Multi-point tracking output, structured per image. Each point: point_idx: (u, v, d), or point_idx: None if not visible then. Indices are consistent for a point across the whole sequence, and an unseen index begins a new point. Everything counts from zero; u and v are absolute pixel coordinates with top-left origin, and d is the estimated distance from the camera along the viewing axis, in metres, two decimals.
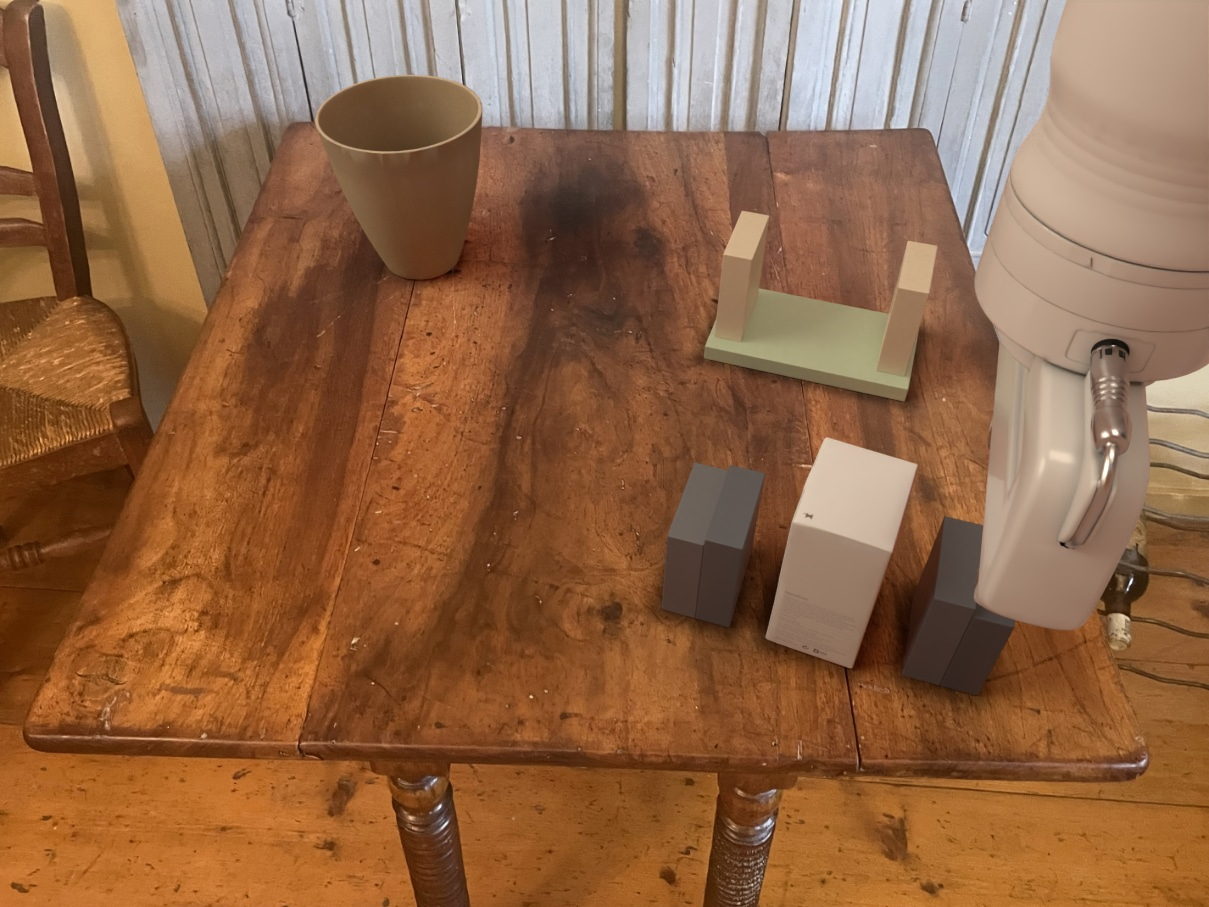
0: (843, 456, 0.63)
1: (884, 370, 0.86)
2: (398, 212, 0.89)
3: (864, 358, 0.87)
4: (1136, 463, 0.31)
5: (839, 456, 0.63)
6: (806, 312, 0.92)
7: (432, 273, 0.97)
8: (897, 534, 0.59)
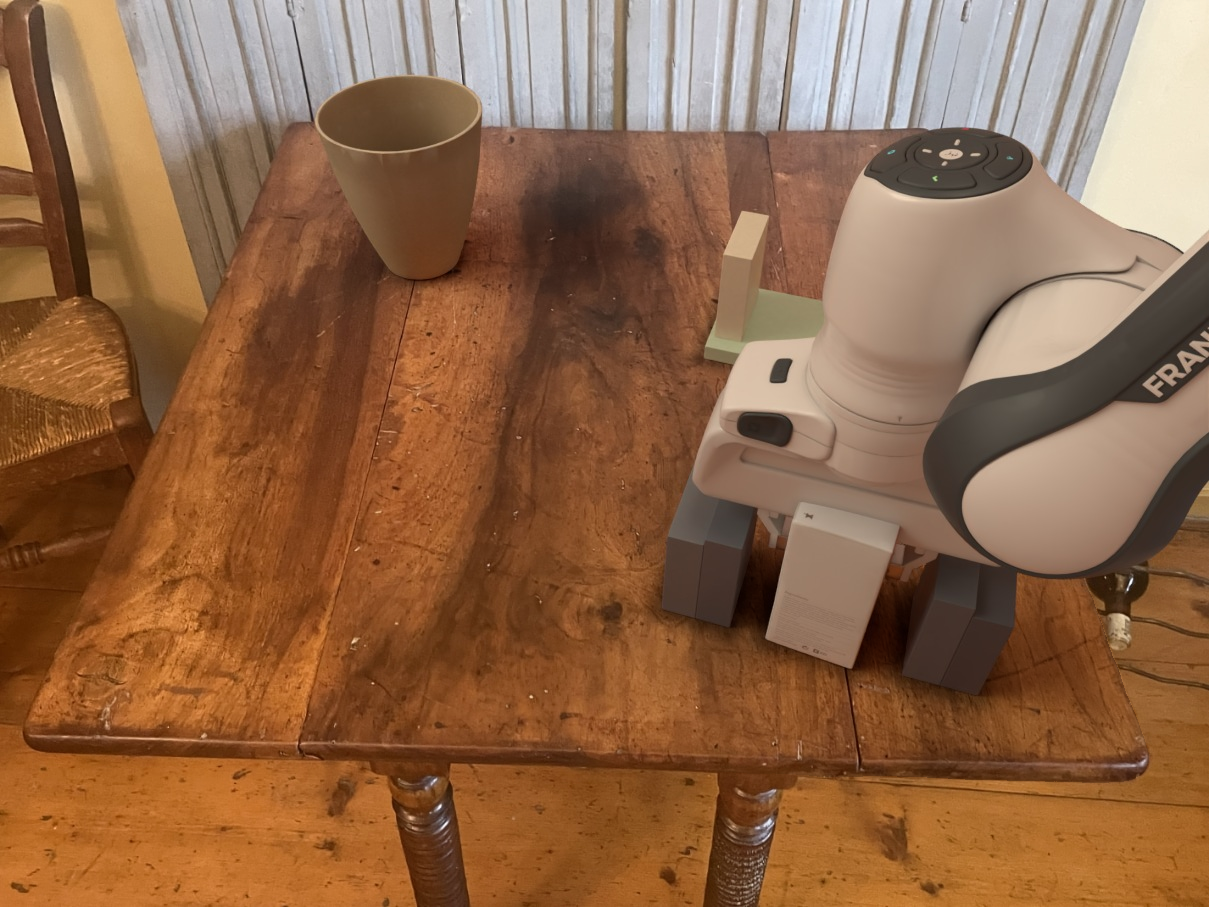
0: None
1: None
2: (398, 212, 0.89)
3: None
4: None
5: None
6: (806, 312, 0.92)
7: (432, 273, 0.97)
8: (897, 534, 0.59)
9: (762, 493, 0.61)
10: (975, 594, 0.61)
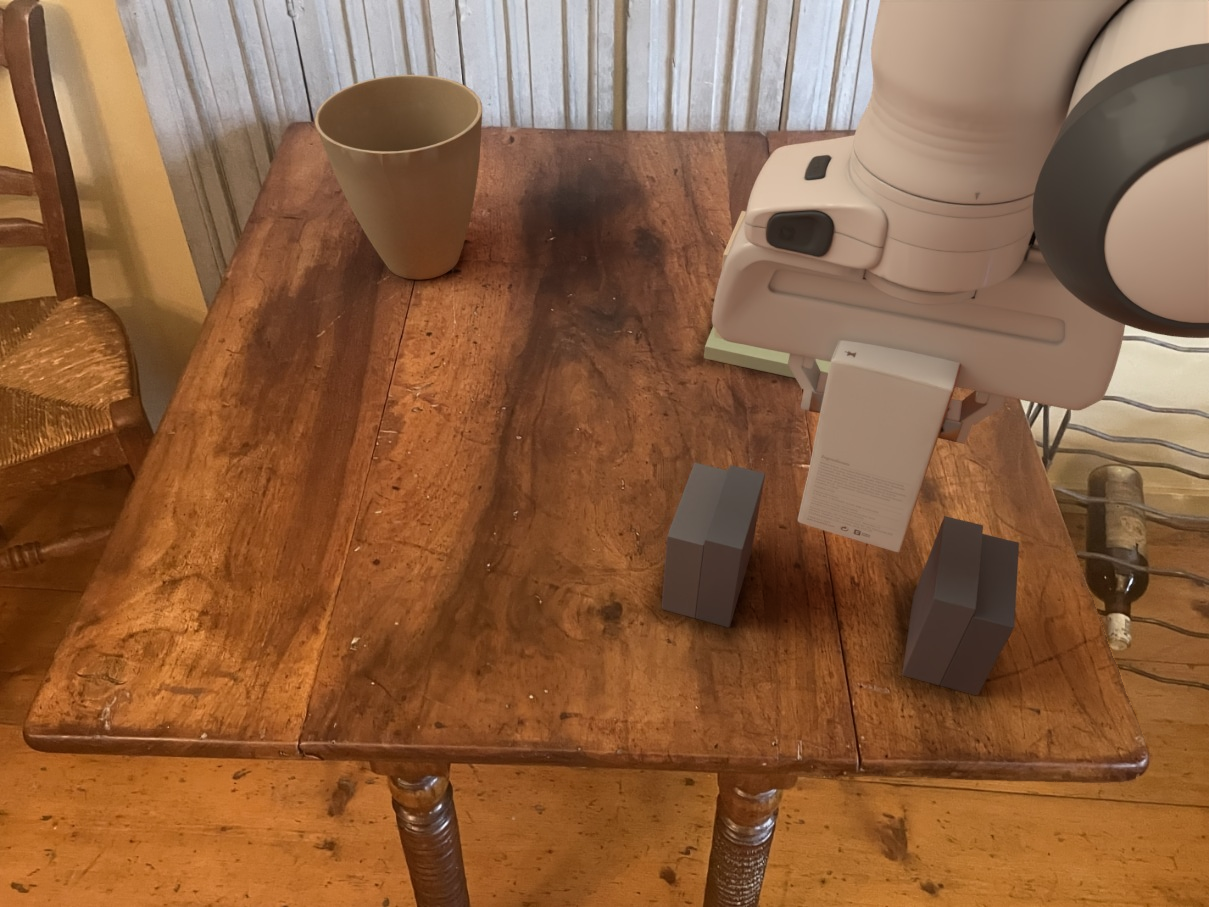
0: None
1: None
2: (398, 212, 0.89)
3: None
4: None
5: None
6: None
7: (432, 273, 0.97)
8: (957, 372, 0.49)
9: (795, 332, 0.52)
10: (975, 594, 0.61)
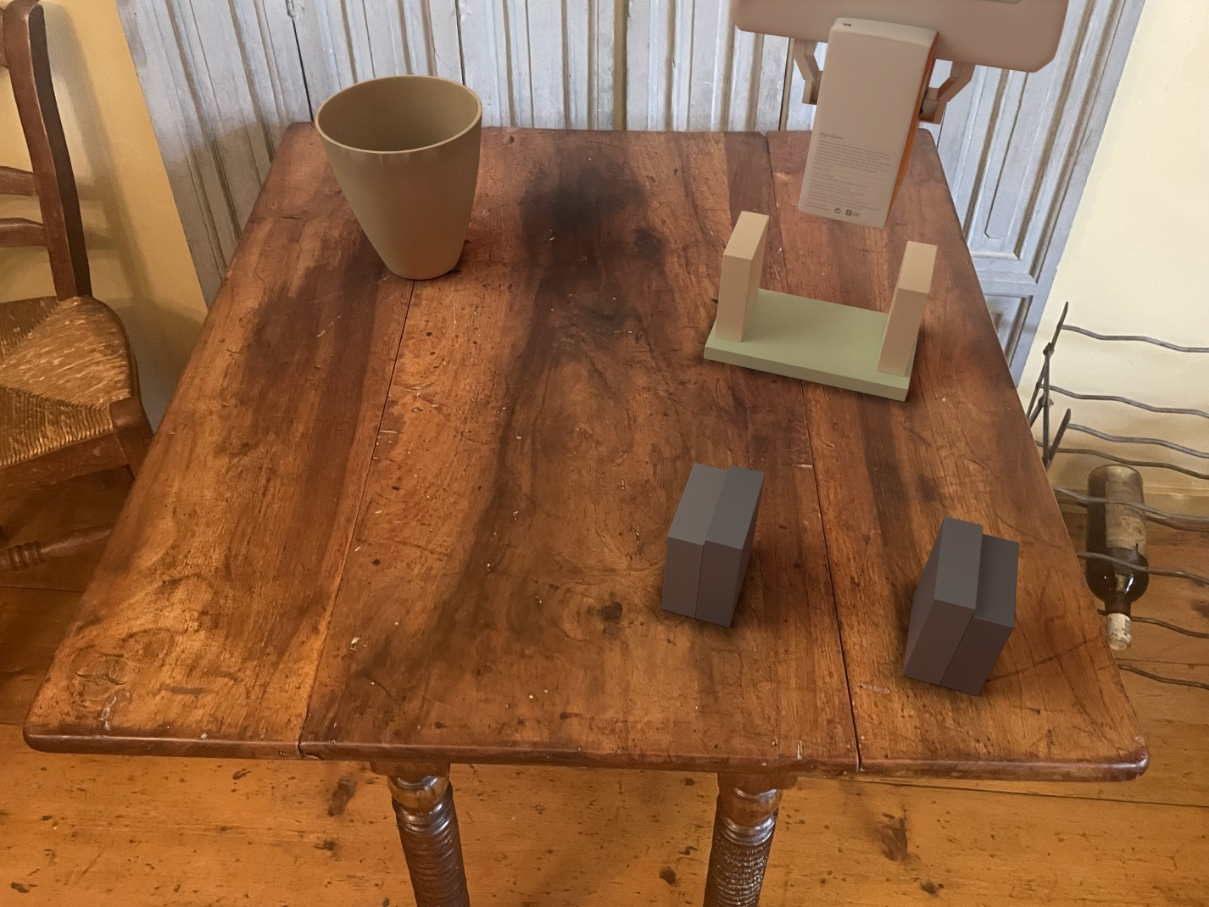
0: None
1: (884, 370, 0.86)
2: (398, 212, 0.89)
3: (864, 358, 0.87)
4: None
5: None
6: (806, 312, 0.92)
7: (432, 273, 0.97)
8: (935, 36, 0.59)
9: (800, 13, 0.62)
10: (975, 594, 0.61)
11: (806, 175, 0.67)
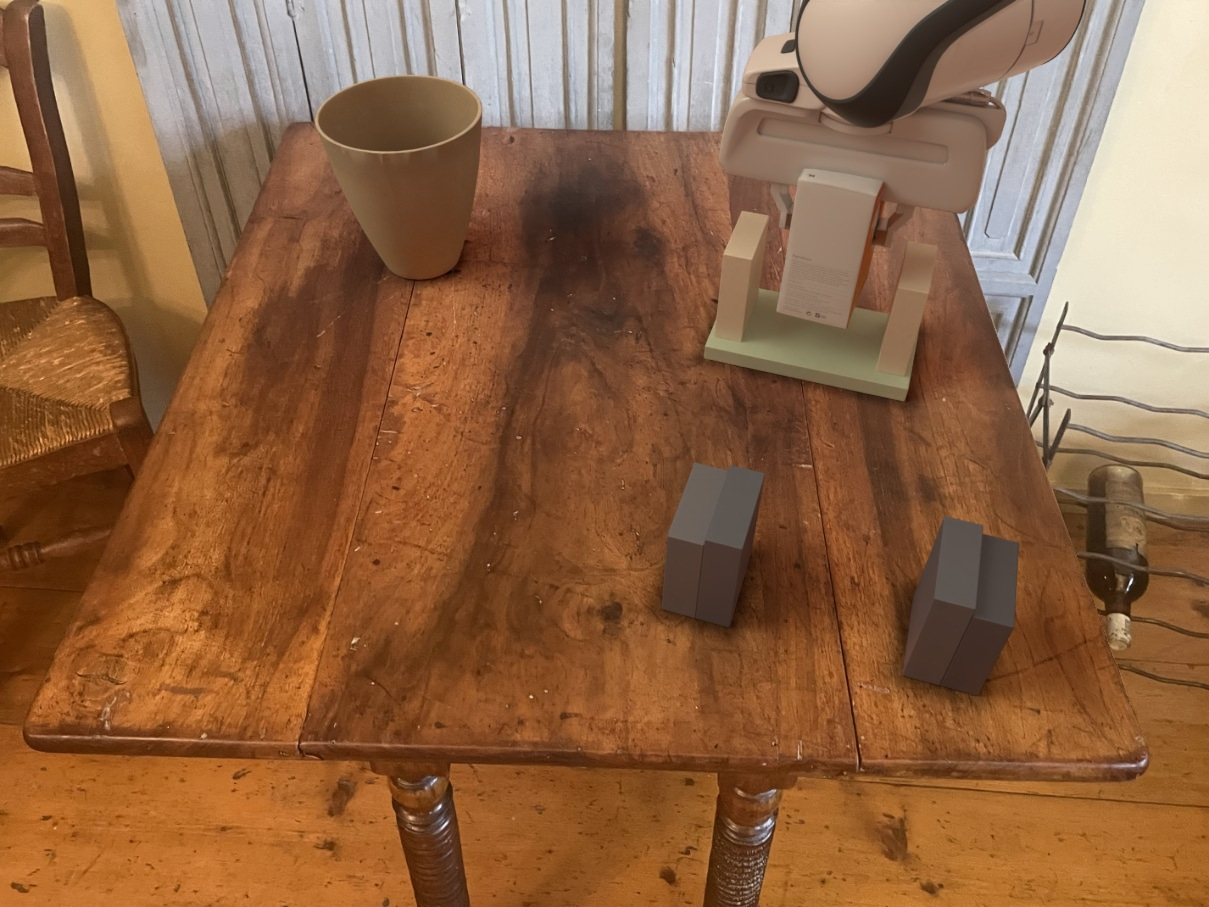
0: None
1: (884, 370, 0.86)
2: (398, 212, 0.89)
3: (864, 358, 0.87)
4: None
5: None
6: None
7: (432, 273, 0.97)
8: (881, 186, 0.75)
9: (774, 164, 0.77)
10: (975, 594, 0.61)
11: (782, 285, 0.83)
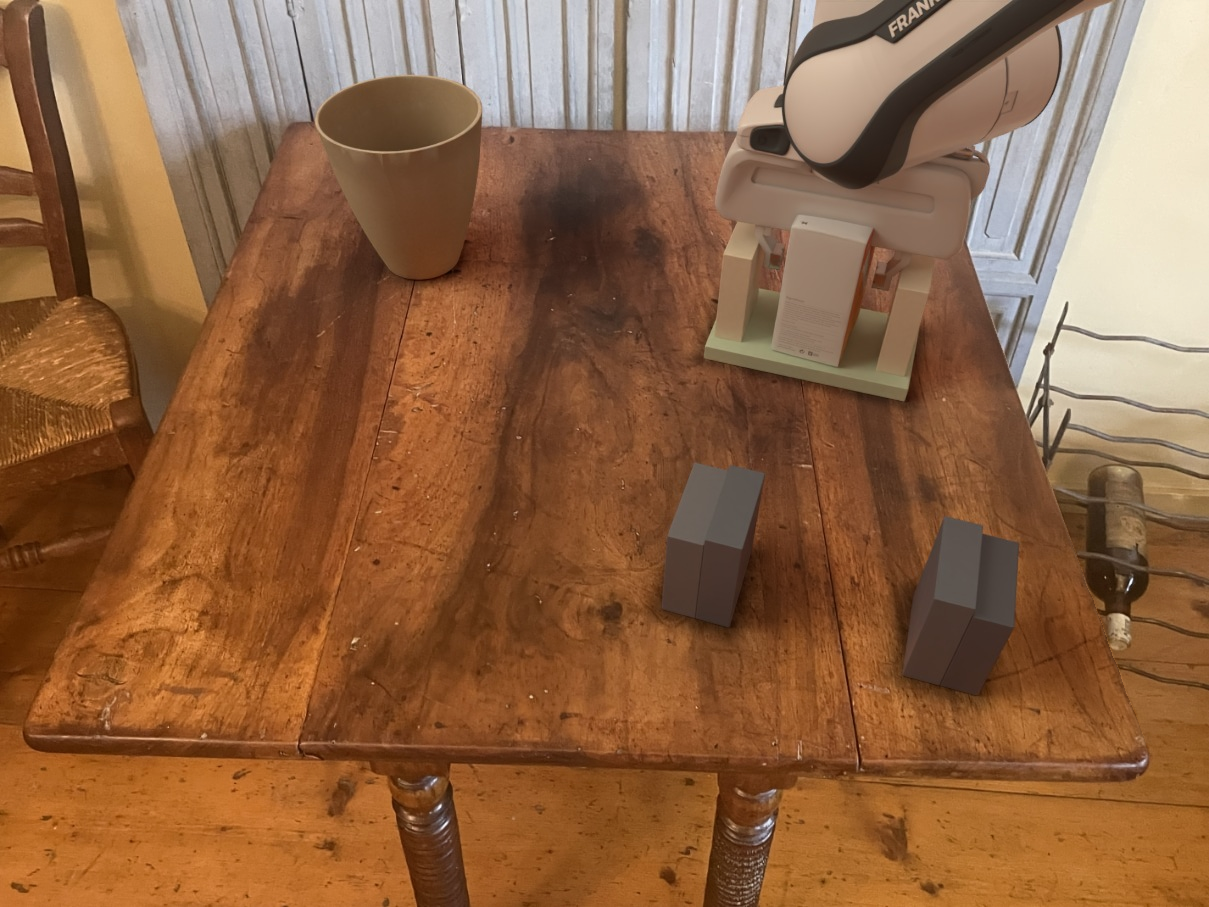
0: None
1: (884, 370, 0.86)
2: (398, 212, 0.89)
3: (864, 358, 0.87)
4: None
5: None
6: None
7: (432, 273, 0.97)
8: (871, 233, 0.78)
9: (768, 210, 0.80)
10: (975, 594, 0.61)
11: (776, 325, 0.86)
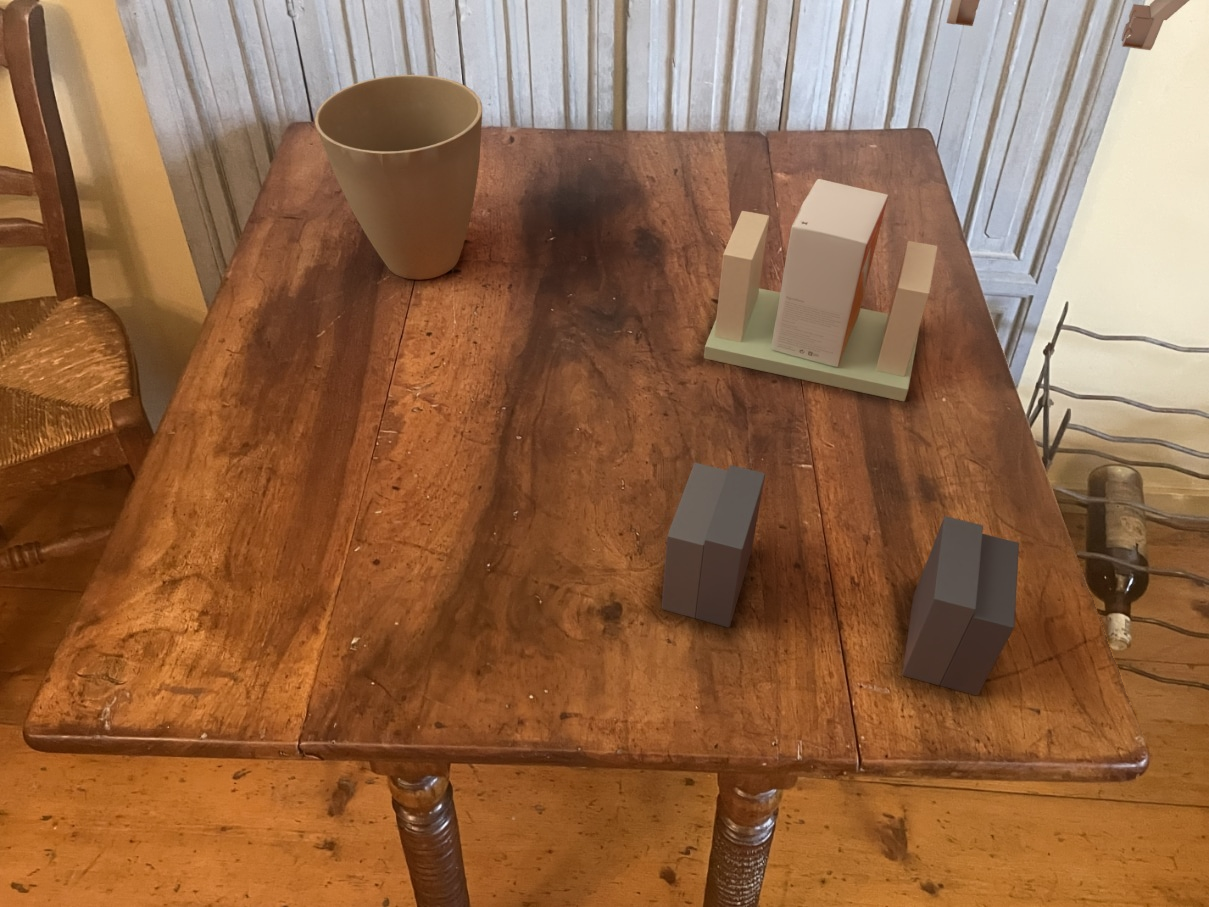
0: (831, 189, 0.82)
1: (884, 370, 0.86)
2: (398, 212, 0.89)
3: (864, 358, 0.87)
4: None
5: (828, 189, 0.82)
6: None
7: (432, 273, 0.97)
8: (871, 234, 0.78)
9: None
10: (975, 594, 0.61)
11: (776, 325, 0.86)
